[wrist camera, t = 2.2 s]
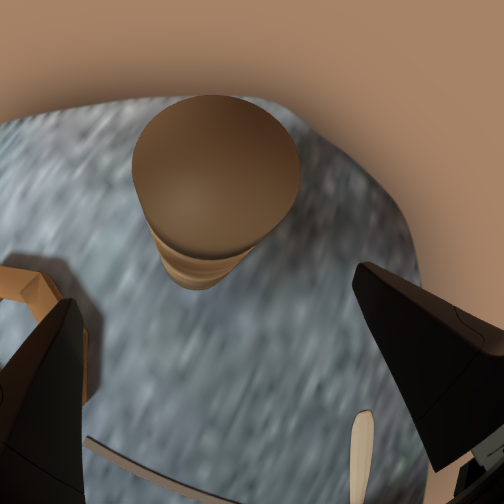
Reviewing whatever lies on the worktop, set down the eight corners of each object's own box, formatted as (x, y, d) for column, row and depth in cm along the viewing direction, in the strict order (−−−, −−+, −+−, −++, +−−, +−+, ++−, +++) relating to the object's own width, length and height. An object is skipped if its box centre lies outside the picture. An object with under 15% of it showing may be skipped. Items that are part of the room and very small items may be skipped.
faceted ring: (120, 373, 17) (115, 378, 15) (25, 452, 14) (16, 459, 12) (28, 238, 17) (18, 232, 15) (-53, 328, 14) (-64, 328, 12)
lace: (245, 503, 17) (247, 507, 16) (240, 510, 16) (242, 514, 16) (88, 434, 16) (86, 437, 15) (85, 442, 15) (82, 445, 15)
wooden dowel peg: (243, 261, 20) (331, 178, 8) (192, 304, 19) (206, 283, 7) (201, 211, 20) (229, 74, 8) (149, 251, 19) (101, 149, 7)
